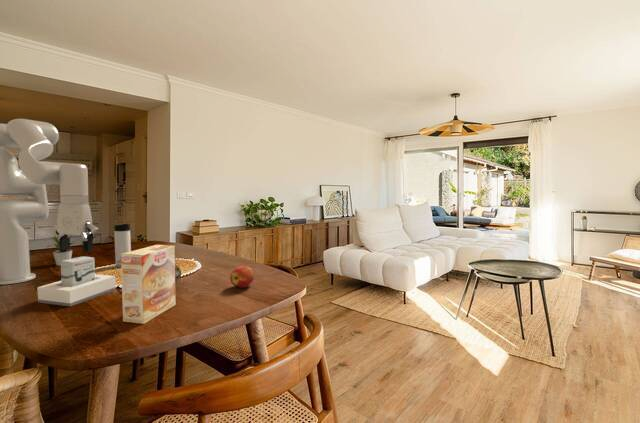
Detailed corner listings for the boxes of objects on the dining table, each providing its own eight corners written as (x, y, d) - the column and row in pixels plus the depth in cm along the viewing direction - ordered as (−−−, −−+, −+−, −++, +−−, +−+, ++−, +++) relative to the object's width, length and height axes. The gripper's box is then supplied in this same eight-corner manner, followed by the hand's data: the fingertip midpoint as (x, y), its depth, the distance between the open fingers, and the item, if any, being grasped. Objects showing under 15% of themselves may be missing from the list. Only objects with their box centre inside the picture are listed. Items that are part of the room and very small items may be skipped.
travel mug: (120, 268, 147) (118, 224, 145) (113, 266, 150) (111, 223, 148) (134, 265, 152) (133, 223, 150) (126, 263, 155) (125, 222, 154)
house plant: (32, 267, 146) (29, 231, 145) (61, 260, 160) (59, 227, 159) (58, 268, 144) (56, 232, 143) (86, 261, 158) (84, 228, 156)
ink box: (73, 297, 106) (71, 262, 105) (61, 296, 107) (59, 261, 106) (96, 289, 115) (95, 256, 114) (85, 288, 116) (83, 255, 115)
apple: (226, 288, 121) (226, 267, 121) (242, 282, 129) (242, 262, 128) (243, 291, 118) (243, 270, 117) (258, 285, 125) (258, 265, 124)
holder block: (38, 302, 104) (37, 287, 104) (87, 286, 121) (86, 273, 120) (70, 306, 101) (69, 290, 101) (116, 289, 118) (115, 276, 117)
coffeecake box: (144, 324, 90) (142, 255, 88) (121, 322, 91) (119, 253, 89) (177, 304, 104) (175, 245, 103) (157, 303, 105) (155, 244, 104)
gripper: (42, 199, 107) (44, 250, 108) (85, 202, 103) (86, 255, 104) (65, 198, 114) (67, 246, 115) (105, 201, 110) (106, 250, 112)
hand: (76, 250), depth 110 cm, fingers open, 9 cm apart
